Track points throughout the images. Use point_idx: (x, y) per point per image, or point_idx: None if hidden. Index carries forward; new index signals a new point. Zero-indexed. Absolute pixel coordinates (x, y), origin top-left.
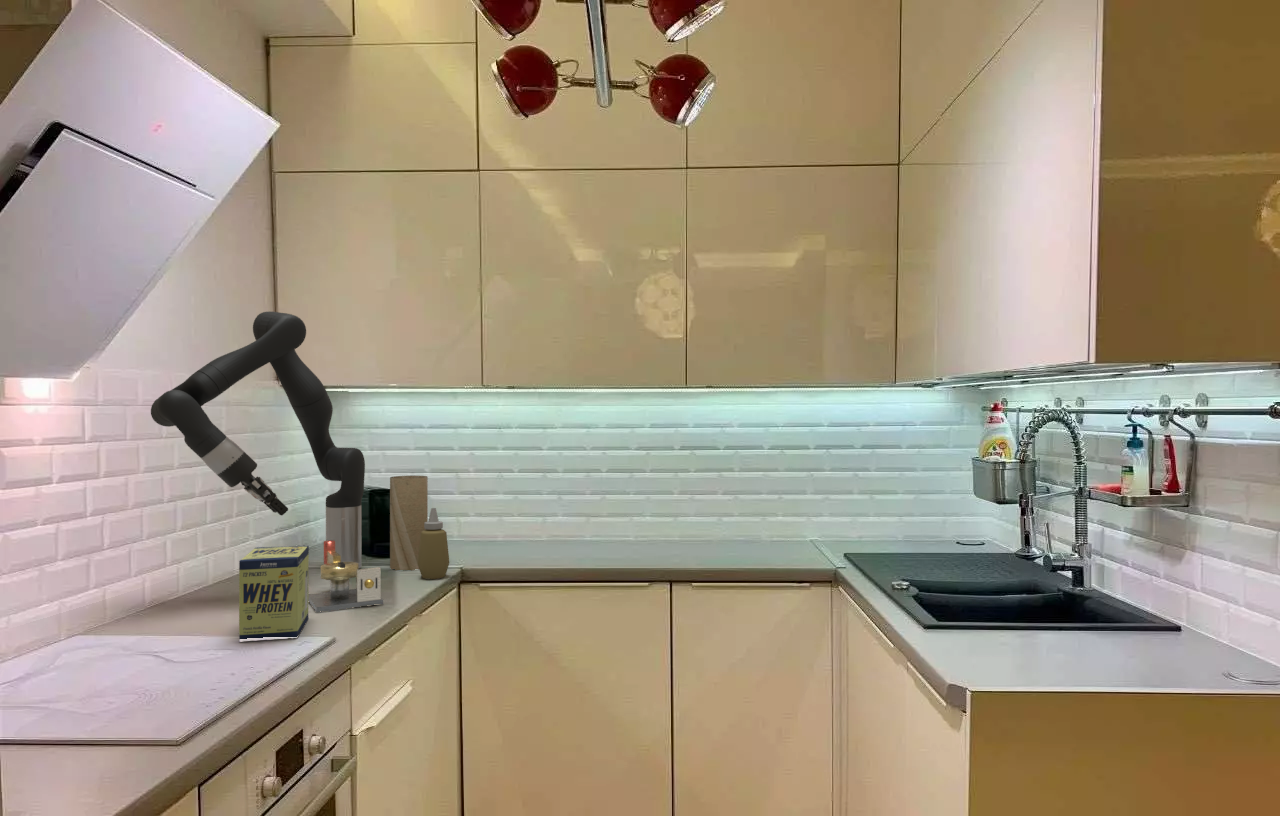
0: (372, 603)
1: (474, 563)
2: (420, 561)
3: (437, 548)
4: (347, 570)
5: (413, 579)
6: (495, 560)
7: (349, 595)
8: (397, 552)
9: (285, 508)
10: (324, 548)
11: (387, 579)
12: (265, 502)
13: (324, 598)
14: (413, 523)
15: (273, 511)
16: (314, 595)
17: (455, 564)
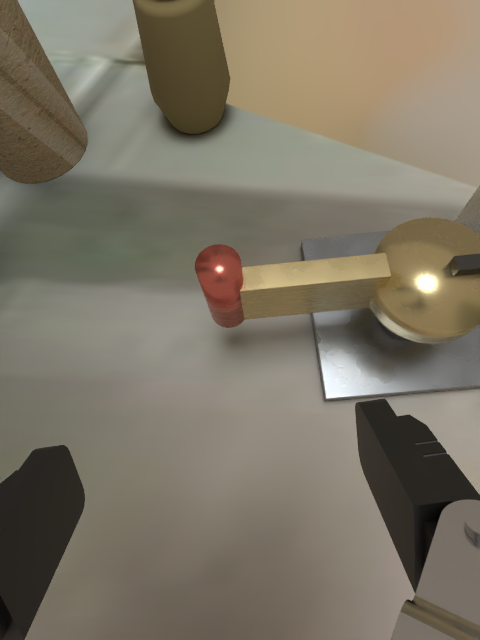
0: None
1: (91, 38)
2: (200, 100)
3: (219, 34)
4: None
5: (195, 151)
6: (86, 6)
7: None
8: (42, 133)
9: (414, 421)
10: (231, 294)
11: (162, 199)
12: (25, 617)
13: (404, 354)
14: (18, 14)
15: (79, 516)
16: (352, 378)
17: (77, 67)
